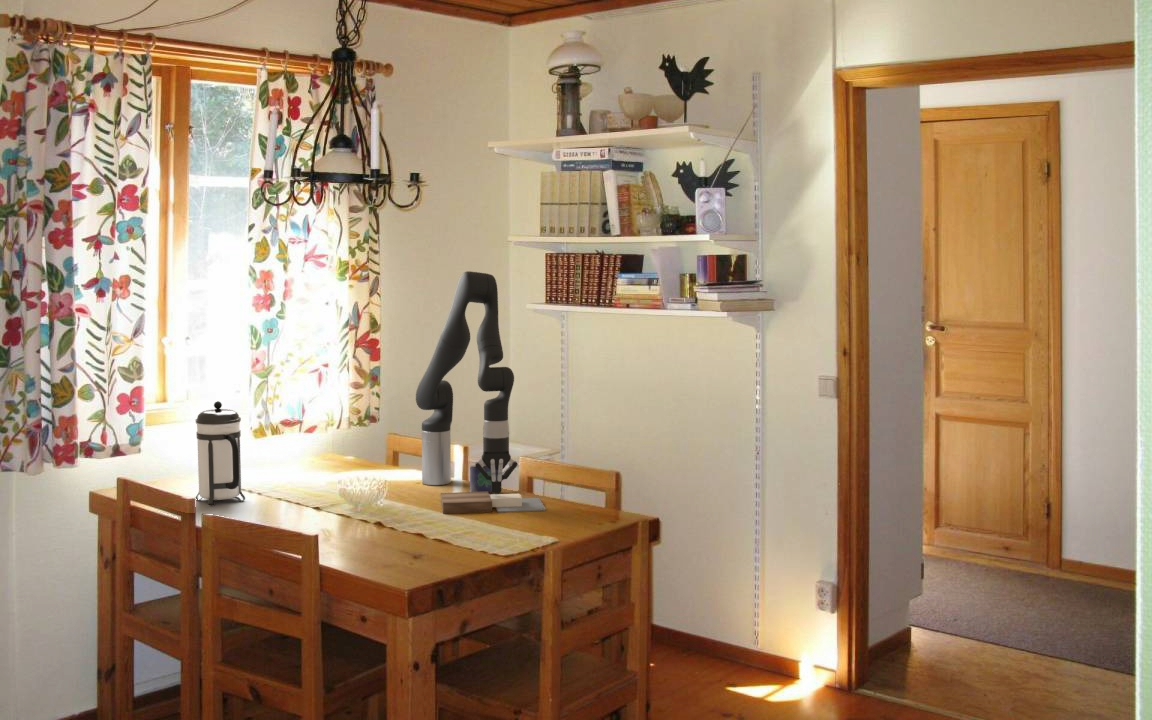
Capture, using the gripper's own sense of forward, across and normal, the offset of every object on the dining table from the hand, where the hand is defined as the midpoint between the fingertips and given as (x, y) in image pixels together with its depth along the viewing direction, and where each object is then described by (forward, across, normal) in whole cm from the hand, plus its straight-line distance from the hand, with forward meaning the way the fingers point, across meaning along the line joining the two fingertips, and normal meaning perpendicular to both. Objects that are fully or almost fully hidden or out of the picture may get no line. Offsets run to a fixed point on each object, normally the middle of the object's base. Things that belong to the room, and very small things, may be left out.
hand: (496, 493), depth 323 cm
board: (+4, +9, 0) cm, 10 cm away
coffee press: (+4, +80, -19) cm, 82 cm away
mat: (+4, -7, 0) cm, 8 cm away
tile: (+2, -3, 0) cm, 3 cm away
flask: (+4, +2, -19) cm, 20 cm away
